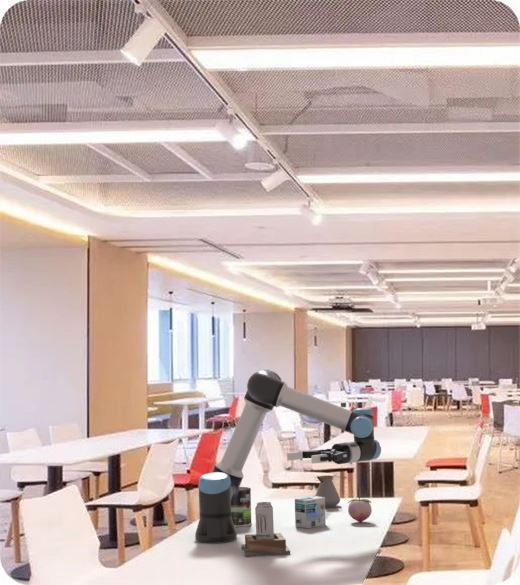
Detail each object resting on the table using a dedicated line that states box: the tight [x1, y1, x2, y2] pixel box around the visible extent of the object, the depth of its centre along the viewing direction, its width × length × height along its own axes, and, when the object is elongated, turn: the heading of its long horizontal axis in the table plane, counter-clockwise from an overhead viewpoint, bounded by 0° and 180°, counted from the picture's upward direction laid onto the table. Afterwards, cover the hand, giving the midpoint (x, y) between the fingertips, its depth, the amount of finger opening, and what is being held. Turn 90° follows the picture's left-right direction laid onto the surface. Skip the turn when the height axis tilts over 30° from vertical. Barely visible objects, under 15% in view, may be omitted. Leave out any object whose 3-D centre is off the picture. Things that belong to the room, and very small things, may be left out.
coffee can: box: [231, 486, 252, 528], centre depth 391 cm, size 10×10×14 cm
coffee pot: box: [314, 475, 341, 509], centre depth 424 cm, size 21×12×15 cm, turn 162°
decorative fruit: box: [347, 496, 373, 523], centre depth 388 cm, size 9×8×10 cm
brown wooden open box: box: [240, 532, 291, 558], centre depth 338 cm, size 15×15×5 cm
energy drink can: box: [254, 501, 275, 540], centre depth 339 cm, size 6×6×15 cm
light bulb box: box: [294, 495, 326, 529], centre depth 384 cm, size 11×7×11 cm, turn 131°
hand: (299, 458), depth 350 cm, fingers open, 13 cm apart
